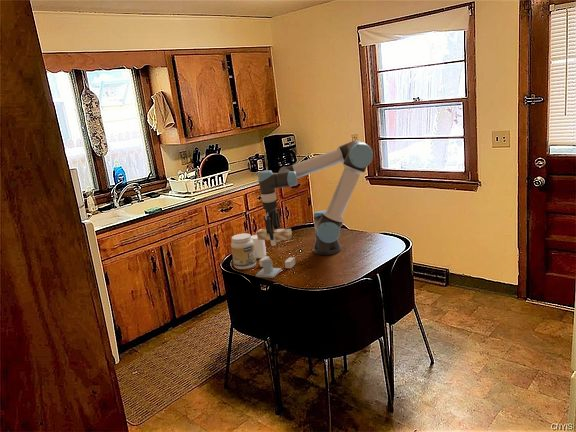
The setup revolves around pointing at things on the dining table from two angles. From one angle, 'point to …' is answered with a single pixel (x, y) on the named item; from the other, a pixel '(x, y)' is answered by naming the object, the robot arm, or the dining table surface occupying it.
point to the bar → (279, 234)
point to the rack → (288, 263)
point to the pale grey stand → (268, 270)
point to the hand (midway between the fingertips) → (275, 243)
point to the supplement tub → (243, 251)
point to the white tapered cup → (259, 247)
